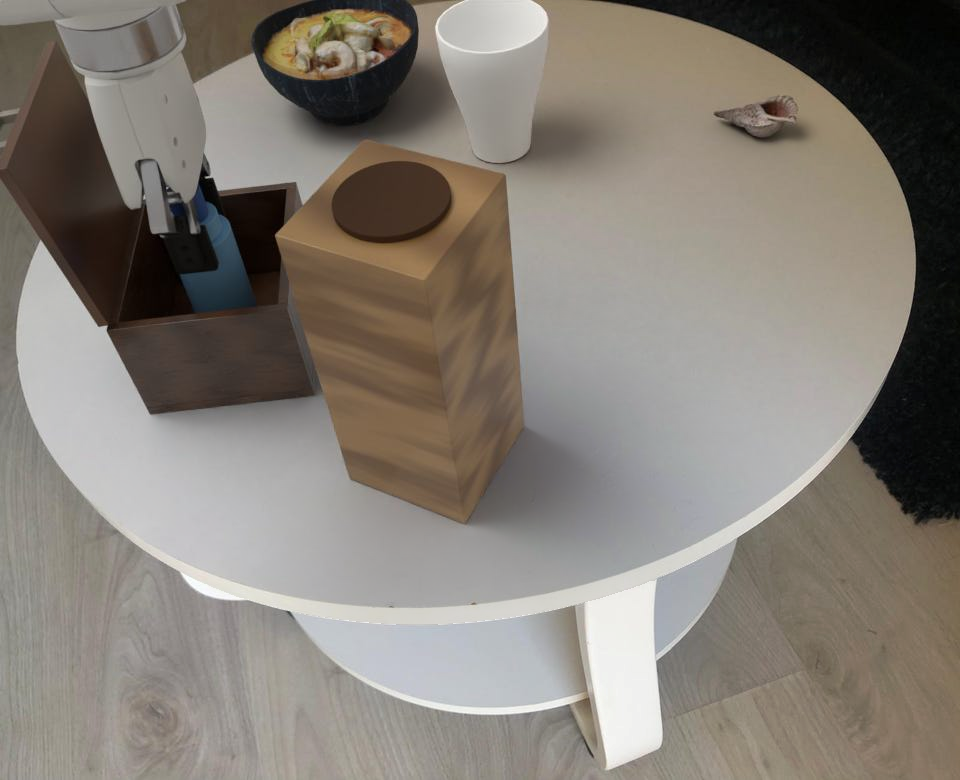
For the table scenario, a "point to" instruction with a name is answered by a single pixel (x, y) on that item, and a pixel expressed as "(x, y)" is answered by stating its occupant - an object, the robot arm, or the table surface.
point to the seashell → (763, 115)
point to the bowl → (338, 55)
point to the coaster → (391, 201)
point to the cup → (495, 71)
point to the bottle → (230, 278)
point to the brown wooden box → (213, 316)
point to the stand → (414, 336)
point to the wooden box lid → (67, 182)
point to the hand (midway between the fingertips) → (202, 243)
